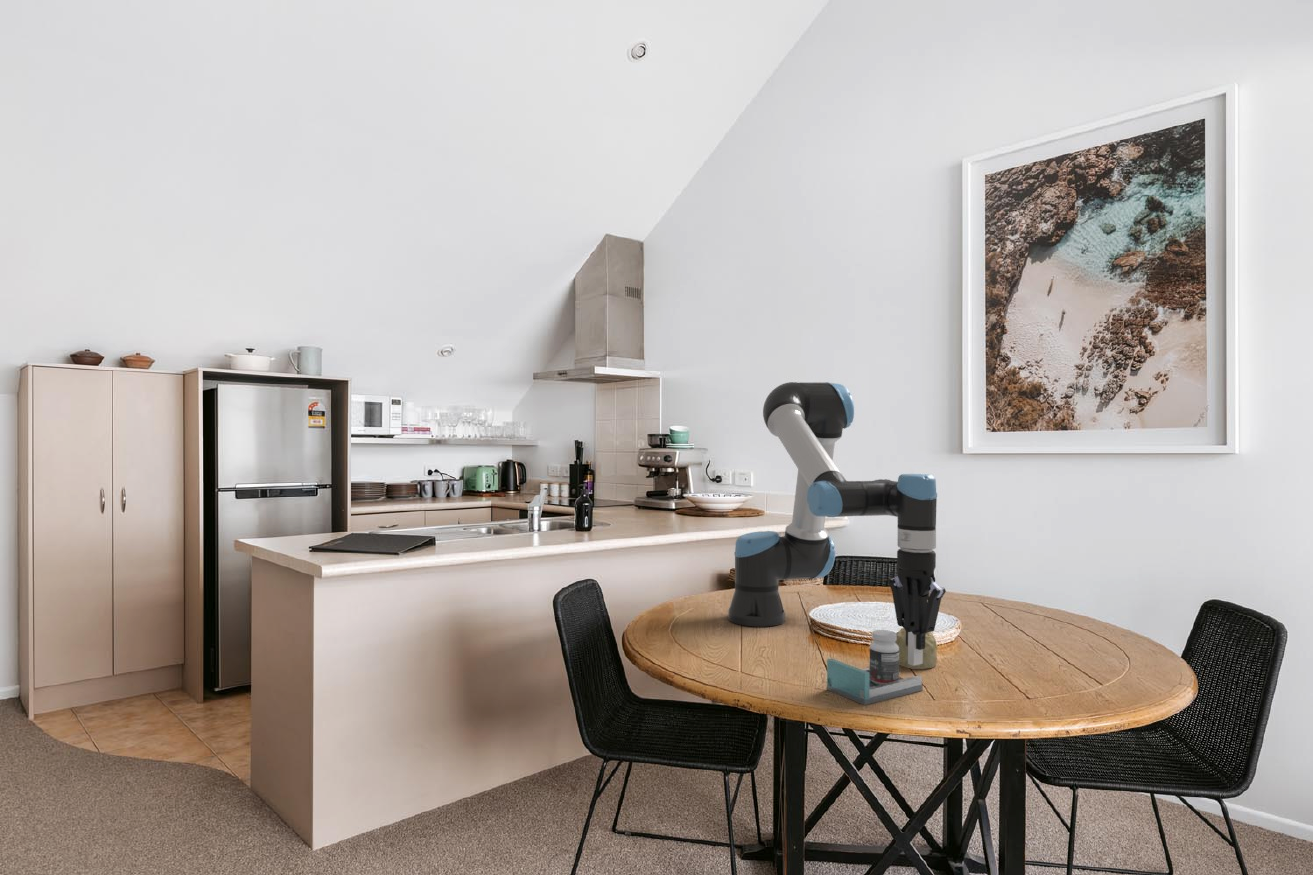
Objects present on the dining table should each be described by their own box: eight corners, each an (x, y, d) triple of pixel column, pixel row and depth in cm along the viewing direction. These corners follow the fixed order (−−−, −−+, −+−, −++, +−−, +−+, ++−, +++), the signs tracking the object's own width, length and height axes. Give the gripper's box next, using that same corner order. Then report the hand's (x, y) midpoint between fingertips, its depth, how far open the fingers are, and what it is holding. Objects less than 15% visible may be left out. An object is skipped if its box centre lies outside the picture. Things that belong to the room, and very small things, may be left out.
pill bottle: (865, 677, 156) (865, 628, 156) (892, 676, 157) (892, 628, 156) (875, 686, 150) (875, 636, 150) (903, 686, 151) (903, 635, 151)
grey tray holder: (883, 676, 160) (884, 647, 160) (922, 690, 151) (922, 660, 151) (826, 689, 152) (827, 659, 152) (864, 705, 143) (864, 673, 143)
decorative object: (939, 678, 169) (934, 634, 175) (940, 664, 161) (935, 619, 167) (895, 678, 172) (891, 635, 177) (894, 665, 164) (890, 620, 169)
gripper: (879, 546, 161) (878, 658, 161) (930, 555, 150) (929, 675, 150) (903, 543, 165) (902, 652, 165) (955, 552, 154) (954, 669, 154)
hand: (915, 663), depth 158 cm, fingers closed
